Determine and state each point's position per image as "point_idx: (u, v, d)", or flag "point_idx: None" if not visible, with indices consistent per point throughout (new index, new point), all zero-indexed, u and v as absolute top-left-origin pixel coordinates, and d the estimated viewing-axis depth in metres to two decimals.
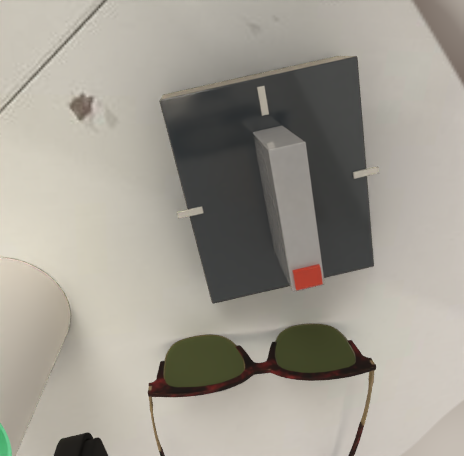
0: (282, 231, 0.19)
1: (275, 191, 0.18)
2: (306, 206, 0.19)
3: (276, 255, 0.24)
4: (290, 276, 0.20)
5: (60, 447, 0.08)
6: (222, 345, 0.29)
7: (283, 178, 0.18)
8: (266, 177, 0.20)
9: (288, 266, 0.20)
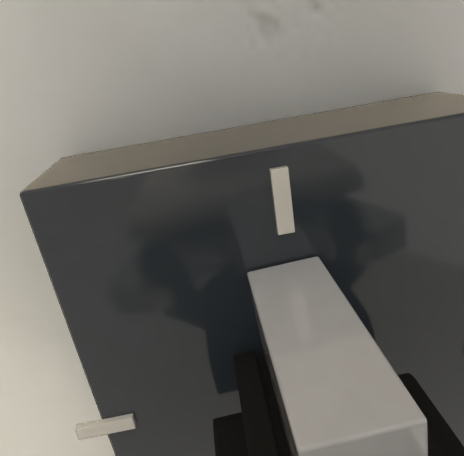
0: None
1: None
2: None
3: None
4: None
5: (237, 359, 0.09)
6: None
7: None
8: (281, 418, 0.08)
9: None
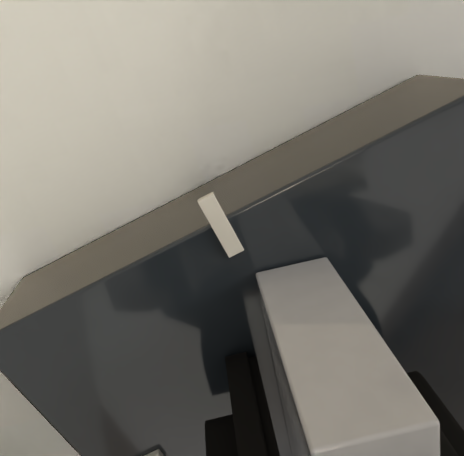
0: None
1: None
2: None
3: None
4: None
5: (229, 361, 0.09)
6: None
7: None
8: (291, 419, 0.08)
9: None
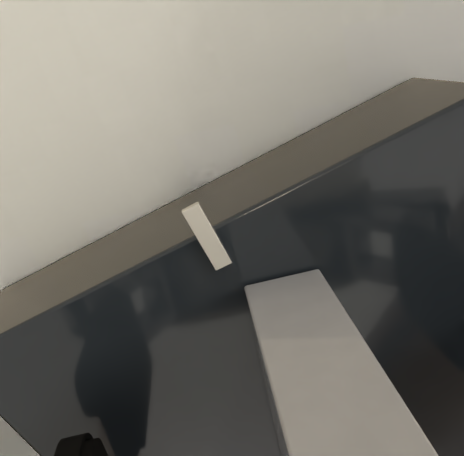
0: None
1: None
2: None
3: None
4: None
5: (60, 447, 0.08)
6: None
7: None
8: (281, 443, 0.07)
9: None
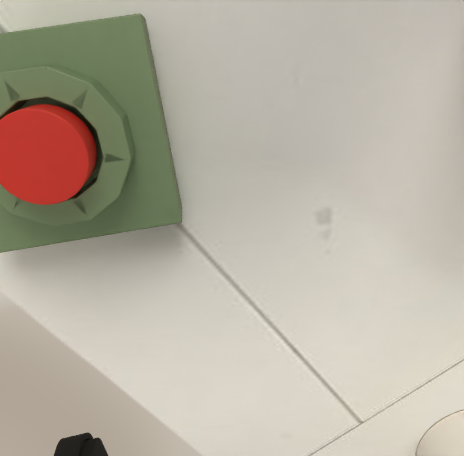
0: None
1: None
2: None
3: None
4: None
5: (60, 447, 0.08)
6: None
7: None
8: None
9: None
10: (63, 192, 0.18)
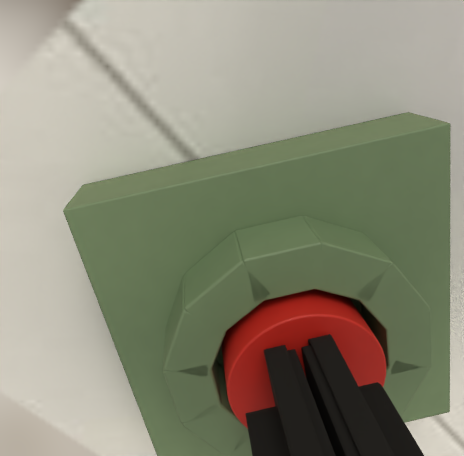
0: None
1: None
2: None
3: None
4: None
5: (269, 354, 0.09)
6: None
7: None
8: None
9: None
10: None
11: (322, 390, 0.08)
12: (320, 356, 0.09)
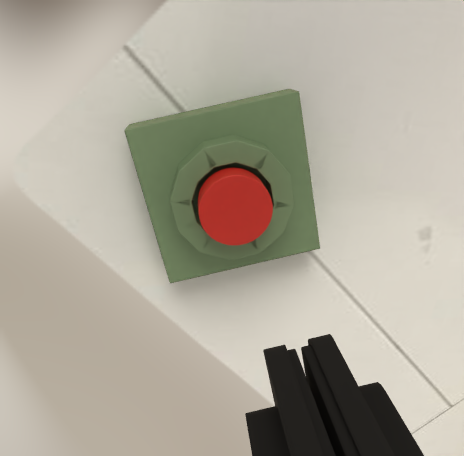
0: None
1: None
2: None
3: None
4: None
5: (269, 354, 0.09)
6: None
7: None
8: None
9: None
10: (251, 235, 0.23)
11: (322, 390, 0.08)
12: (320, 356, 0.09)
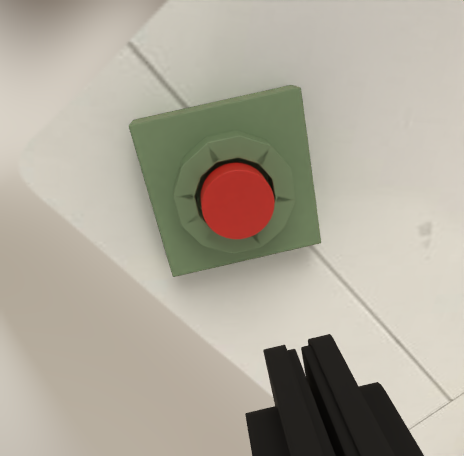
0: None
1: None
2: None
3: None
4: None
5: (269, 354, 0.09)
6: None
7: None
8: None
9: None
10: (253, 229, 0.24)
11: (322, 390, 0.08)
12: (320, 356, 0.09)
